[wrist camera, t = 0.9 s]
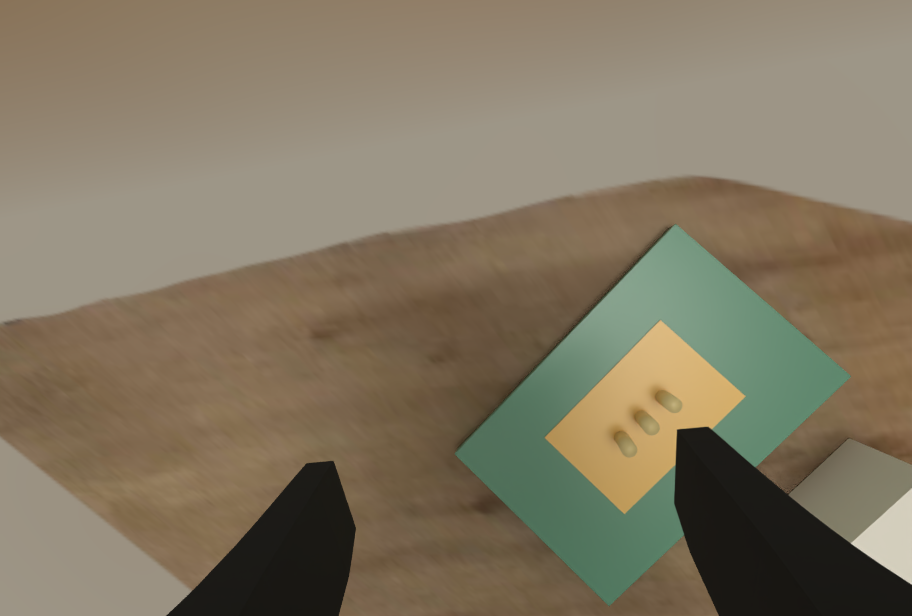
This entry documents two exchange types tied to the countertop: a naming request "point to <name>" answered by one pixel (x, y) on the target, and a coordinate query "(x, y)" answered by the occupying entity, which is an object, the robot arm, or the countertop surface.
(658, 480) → the header board
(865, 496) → the block
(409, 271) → the countertop surface
